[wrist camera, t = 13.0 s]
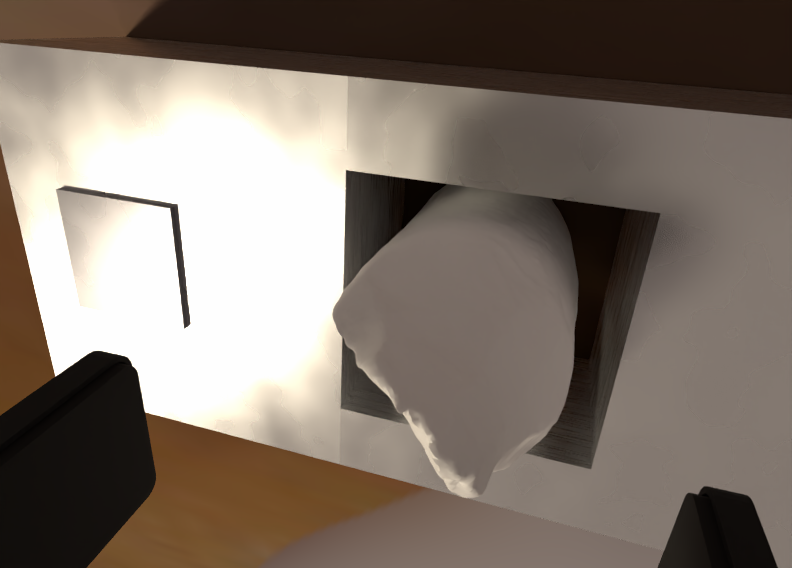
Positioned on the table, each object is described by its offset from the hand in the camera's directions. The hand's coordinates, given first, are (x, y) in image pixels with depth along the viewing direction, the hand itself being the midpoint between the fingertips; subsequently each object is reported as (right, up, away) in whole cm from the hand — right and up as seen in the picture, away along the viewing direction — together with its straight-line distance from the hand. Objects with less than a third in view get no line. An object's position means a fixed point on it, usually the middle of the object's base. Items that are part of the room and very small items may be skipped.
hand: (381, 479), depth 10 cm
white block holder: (+4, +4, +11) cm, 12 cm away
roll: (+4, +5, +11) cm, 13 cm away
